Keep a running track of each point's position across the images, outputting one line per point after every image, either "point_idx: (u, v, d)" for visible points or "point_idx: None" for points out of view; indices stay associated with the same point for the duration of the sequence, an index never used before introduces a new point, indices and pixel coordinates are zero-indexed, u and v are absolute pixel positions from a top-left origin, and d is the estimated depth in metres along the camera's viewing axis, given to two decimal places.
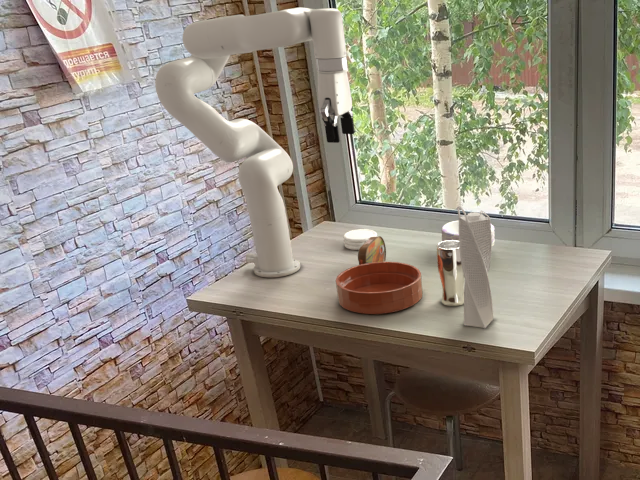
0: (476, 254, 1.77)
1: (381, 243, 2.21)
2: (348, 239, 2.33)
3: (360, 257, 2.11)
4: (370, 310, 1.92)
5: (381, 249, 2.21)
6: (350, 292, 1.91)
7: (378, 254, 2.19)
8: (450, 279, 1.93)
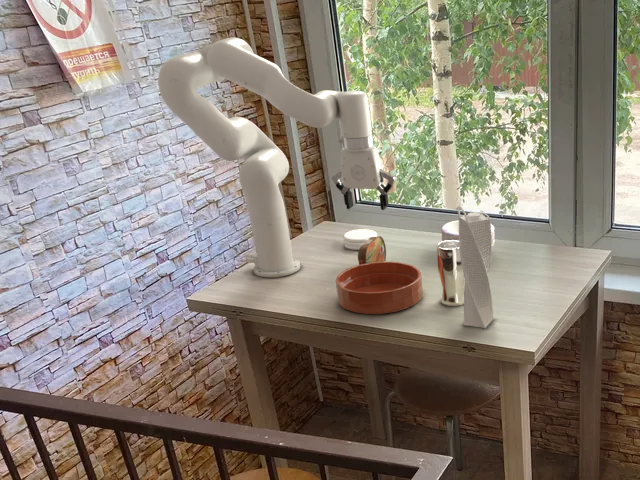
0: (476, 254, 1.77)
1: (381, 243, 2.21)
2: (348, 239, 2.33)
3: (360, 257, 2.11)
4: (370, 310, 1.92)
5: (381, 249, 2.21)
6: (350, 292, 1.91)
7: (378, 254, 2.19)
8: (450, 279, 1.93)
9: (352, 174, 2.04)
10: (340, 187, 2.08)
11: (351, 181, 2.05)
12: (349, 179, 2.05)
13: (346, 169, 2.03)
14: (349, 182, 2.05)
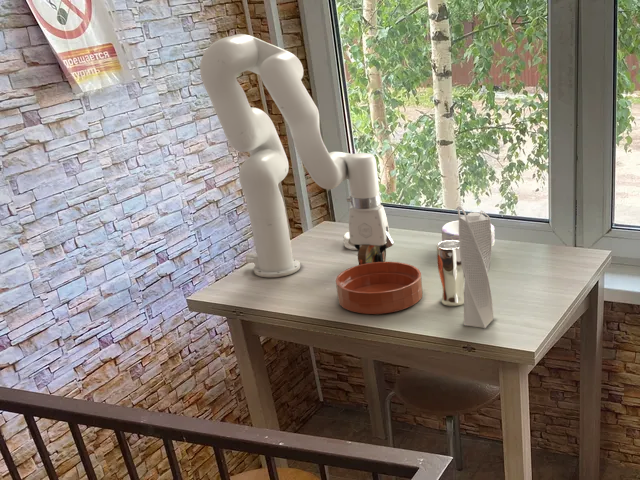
0: (476, 254, 1.77)
1: None
2: (348, 239, 2.33)
3: (360, 257, 2.11)
4: (370, 310, 1.92)
5: None
6: (350, 292, 1.91)
7: None
8: (450, 279, 1.93)
9: (359, 231, 2.12)
10: (359, 247, 2.16)
11: (358, 238, 2.12)
12: (356, 236, 2.12)
13: (354, 227, 2.11)
14: (356, 239, 2.13)
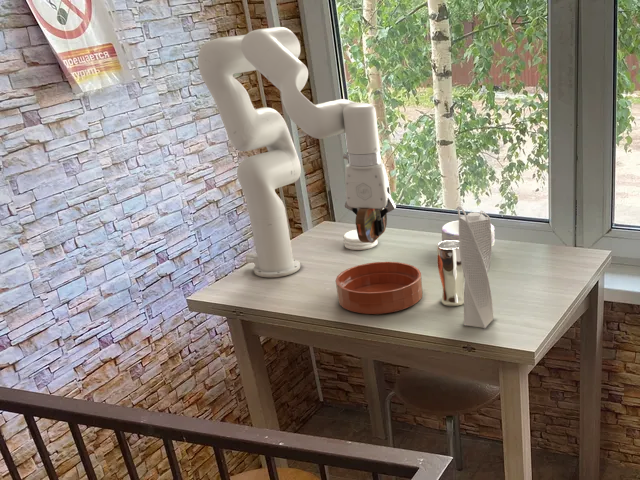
0: (476, 254, 1.77)
1: None
2: (348, 239, 2.33)
3: (358, 221, 1.87)
4: (370, 310, 1.92)
5: None
6: (350, 292, 1.91)
7: None
8: (450, 279, 1.93)
9: (357, 193, 1.88)
10: None
11: (356, 200, 1.89)
12: (354, 198, 1.89)
13: (351, 187, 1.88)
14: (354, 201, 1.89)
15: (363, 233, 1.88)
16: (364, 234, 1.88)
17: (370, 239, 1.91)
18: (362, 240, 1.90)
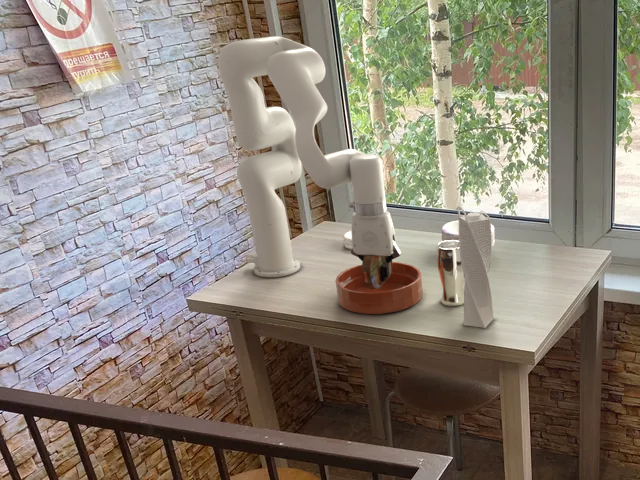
0: (476, 254, 1.77)
1: None
2: (348, 239, 2.33)
3: (364, 269, 1.91)
4: (370, 310, 1.92)
5: None
6: (350, 292, 1.91)
7: None
8: (450, 279, 1.93)
9: (363, 241, 1.91)
10: (363, 258, 1.96)
11: (362, 248, 1.92)
12: (360, 246, 1.92)
13: (357, 235, 1.91)
14: (360, 249, 1.93)
15: (369, 281, 1.91)
16: (370, 281, 1.91)
17: (376, 285, 1.95)
18: (368, 287, 1.93)
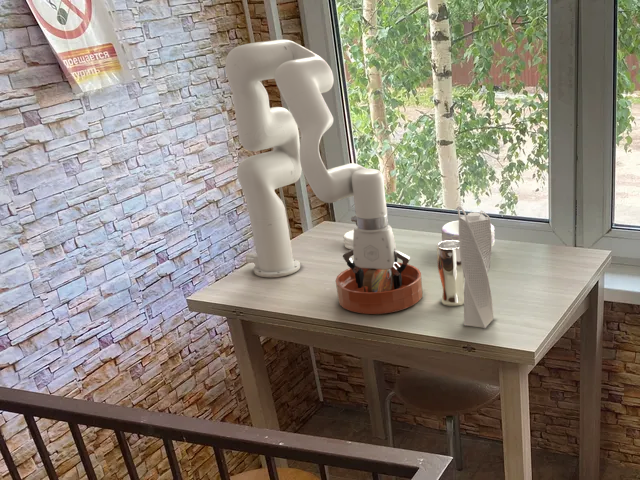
0: (476, 254, 1.77)
1: None
2: (348, 239, 2.33)
3: (365, 284, 1.93)
4: (370, 310, 1.92)
5: (388, 273, 2.03)
6: (350, 292, 1.91)
7: (384, 280, 2.01)
8: (450, 279, 1.93)
9: (365, 254, 1.93)
10: (351, 266, 1.98)
11: (363, 261, 1.94)
12: (361, 259, 1.94)
13: (359, 249, 1.93)
14: (361, 262, 1.94)
15: None
16: None
17: None
18: None
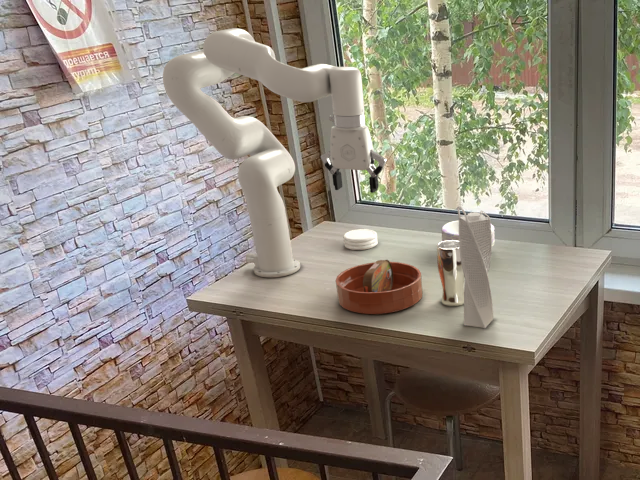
0: (476, 254, 1.77)
1: (388, 267, 2.03)
2: (348, 239, 2.33)
3: (365, 284, 1.93)
4: (370, 310, 1.92)
5: (388, 273, 2.03)
6: (350, 292, 1.91)
7: (384, 280, 2.01)
8: (450, 279, 1.93)
9: (342, 154, 1.96)
10: (329, 167, 2.00)
11: (340, 161, 1.97)
12: (338, 159, 1.96)
13: (335, 148, 1.95)
14: (338, 162, 1.97)
15: None
16: None
17: None
18: None
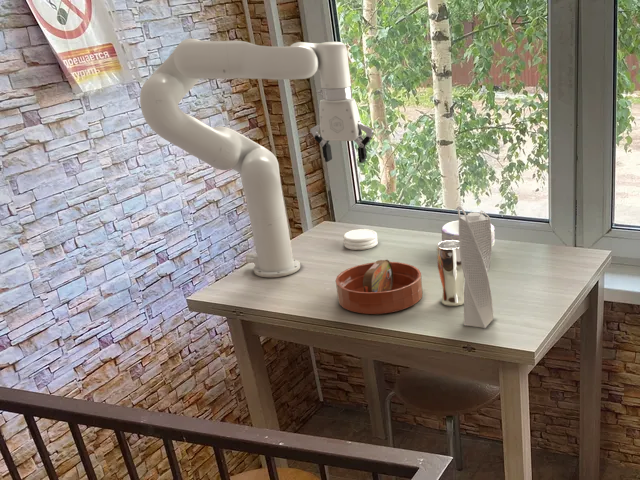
0: (476, 254, 1.77)
1: (388, 267, 2.03)
2: (348, 239, 2.33)
3: (365, 284, 1.93)
4: (370, 310, 1.92)
5: (388, 273, 2.03)
6: (350, 292, 1.91)
7: (384, 280, 2.01)
8: (450, 279, 1.93)
9: (330, 126, 2.05)
10: (319, 139, 2.10)
11: (329, 133, 2.06)
12: (327, 131, 2.06)
13: (324, 121, 2.05)
14: (327, 134, 2.06)
15: None
16: None
17: None
18: None
